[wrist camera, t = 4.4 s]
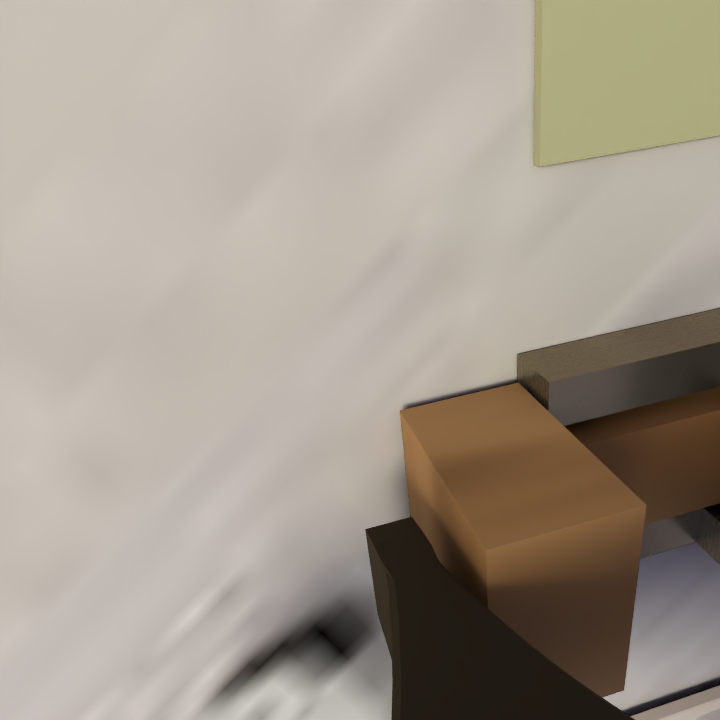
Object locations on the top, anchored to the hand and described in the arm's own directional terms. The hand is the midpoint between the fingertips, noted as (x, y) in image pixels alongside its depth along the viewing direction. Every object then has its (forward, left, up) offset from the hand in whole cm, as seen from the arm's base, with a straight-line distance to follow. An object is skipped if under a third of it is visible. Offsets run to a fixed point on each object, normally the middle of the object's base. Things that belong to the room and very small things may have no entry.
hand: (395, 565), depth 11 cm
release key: (0, -5, -2) cm, 5 cm away
